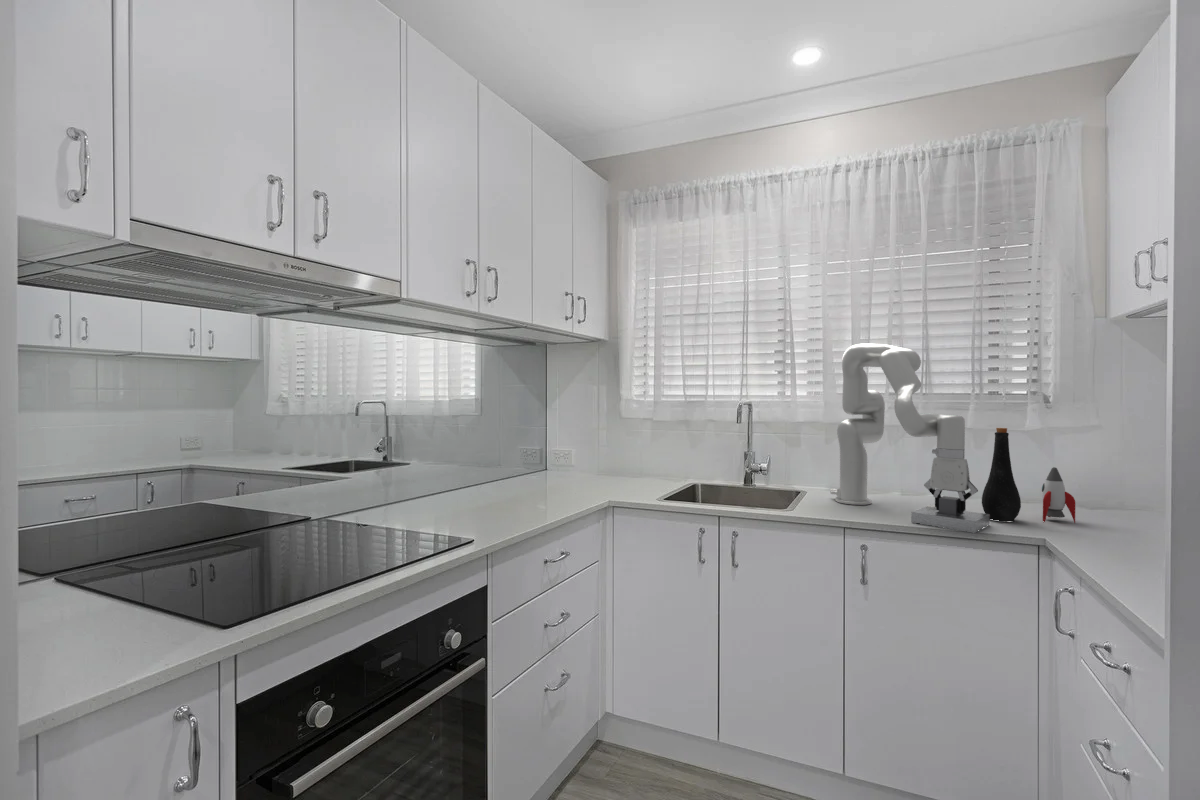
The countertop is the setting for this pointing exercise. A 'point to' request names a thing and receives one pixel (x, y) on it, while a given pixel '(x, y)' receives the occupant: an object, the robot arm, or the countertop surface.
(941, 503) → the plug
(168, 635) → the countertop surface
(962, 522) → the socket plate
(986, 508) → the bottle
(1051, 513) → the toy
